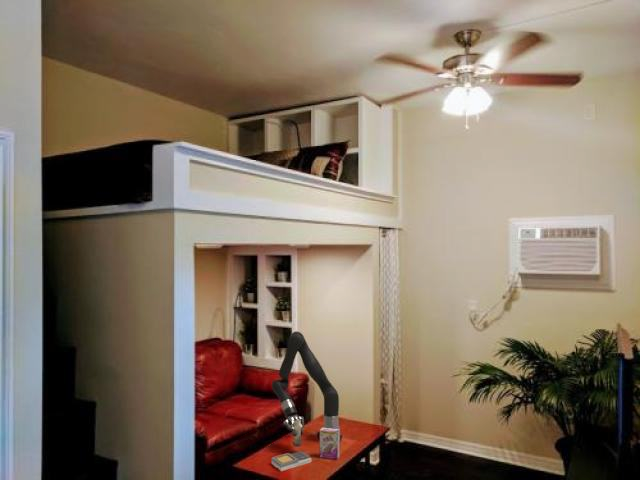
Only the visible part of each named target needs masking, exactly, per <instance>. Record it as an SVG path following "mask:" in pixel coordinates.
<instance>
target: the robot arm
mask: <svg viewBox="0 0 640 480" xmlns="http://www.w3.org/2000/svg"><path fill="white" fill-rule="evenodd" d="M287 342H288V343H287V347H286V348H287V349H286V352H285V356H284V358H283V360H282V362H281V365H280V368H279V371H278V376H279V377H280V378H281V379H274V380H273V381H272V383H271V389H272V391H273V392H274V394H275V395H276V397H277V398H278V399H279V400H278V401H279V402H280V405H281V410H282V411H283V414H284V416H285V418H286V419H285V420H284V421H283V426H285V428H286V429H287V430H288V431H291V432H292V434H293V435H292V436H293V437H294V436H296V435H297V433H296V430H295V429H294V421H295V420H300V421H301V436H302V435H303V434H305V433H304V432H305V431H304V429H303V427H304V426H305V418H304V416H300V415H299V414H298V411H297V409H296V407H295V404H294V401H293V400H292V397H291V394H290V393H289V392H288V391H286V390H287V389H288V387H289V382H290V381H289V380H290V374H291V372H292V368H293V366H294V363H295V359H296V357H297V354H298V353H299V355H300V358H301V362H302V364H303V366H304V368H305V370H306V372H307V373H308V375H309V376H310V378H311V379H312V380H313V381H314V382H315V383H316V385H317V386H318V387H319V389H320V392H321V393H322V395H323V428H331V429H339V442H340V441H341V428H340V427H341V426H340V425H339V423H340V422H339V408H340V406H339V405H340V398H339V397H340V396H339V393H338V391H337V389H336V388H335V387H334V385H332V383H331V382H330V380H329V379H328V377H327V375H326V372H325V370H324V369H323V367H322V365H321V363H320V362H319V360H318V359H317V357H316V355H314V353H313V351H312V350H311V349H310V347H309V345H308V343H307V340H306V339H305V336H304V335H303V334H302V332H300V331H297V330H296V331H293V332H292V333H291V334H290V336H289V338H288V341H287Z"/></svg>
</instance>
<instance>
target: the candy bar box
mask: <svg viewBox="0 0 640 480" xmlns="http://www.w3.org/2000/svg"><path fill="white" fill-rule="evenodd" d="M319 458H320V459H327V460H334V461H335V460H338V459H339V458H340V441H339V429H331V428H324V427H321V428H320V429H319Z"/></svg>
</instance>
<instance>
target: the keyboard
mask: <svg viewBox="0 0 640 480" xmlns="http://www.w3.org/2000/svg"><path fill="white" fill-rule="evenodd" d="M283 456H289V457H290V458H291V459H293V460H292V461H289V462H286V463H280V462H279V461H278V460H276V458H280V457H283ZM309 463H312V458H311V456H310V455H309V454H307V453H306V452H304V451H302V450H301V451H298V452H294V453H289V452H288V453H284V454H280V455H275V456H273V457H271V465H272V466H274V467H275V468H276V469H277V468H278V469H277V470H279V471H280V472H283V471H286V470H290V469H293V468H296V467H300V466H303V465H306V464H309Z"/></svg>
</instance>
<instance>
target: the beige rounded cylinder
mask: <svg viewBox="0 0 640 480" xmlns="http://www.w3.org/2000/svg"><path fill="white" fill-rule="evenodd" d="M294 429H295V430H296V433H297V435H296V436H294V435H293V441H292V446H294V447H301V446H303V442H302V441H301V440H302V439H301V437H302V435H301V421H300V419H299V420H295V421H294Z"/></svg>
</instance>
